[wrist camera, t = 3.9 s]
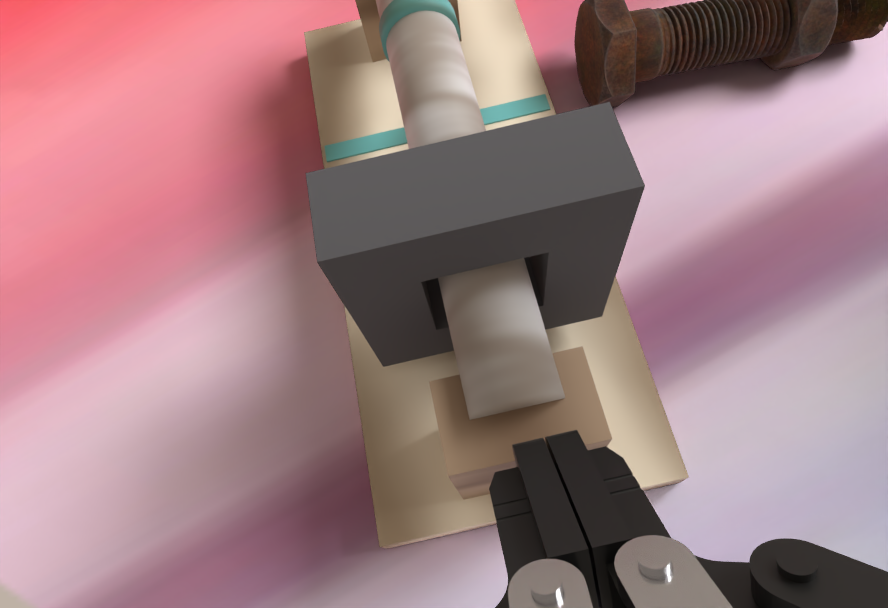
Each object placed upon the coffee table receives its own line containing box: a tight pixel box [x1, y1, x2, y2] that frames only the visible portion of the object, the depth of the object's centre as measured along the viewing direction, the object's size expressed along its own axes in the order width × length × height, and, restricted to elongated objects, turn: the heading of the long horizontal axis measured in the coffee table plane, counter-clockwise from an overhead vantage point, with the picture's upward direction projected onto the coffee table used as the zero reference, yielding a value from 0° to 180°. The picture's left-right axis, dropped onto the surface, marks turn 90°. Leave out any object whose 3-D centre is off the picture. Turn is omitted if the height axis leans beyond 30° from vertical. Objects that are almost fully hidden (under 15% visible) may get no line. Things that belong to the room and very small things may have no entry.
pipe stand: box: [304, 0, 689, 549], centre depth 26 cm, size 12×28×9 cm, turn 12°
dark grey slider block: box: [306, 102, 645, 367], centre depth 21 cm, size 9×3×9 cm, turn 101°
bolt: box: [575, 0, 888, 107], centre depth 31 cm, size 6×5×15 cm
